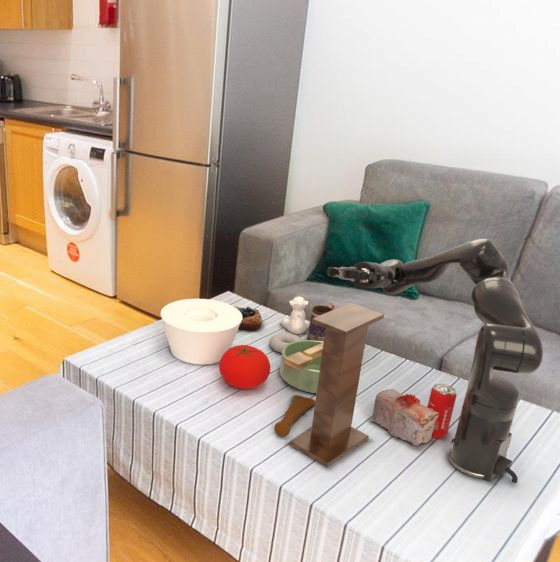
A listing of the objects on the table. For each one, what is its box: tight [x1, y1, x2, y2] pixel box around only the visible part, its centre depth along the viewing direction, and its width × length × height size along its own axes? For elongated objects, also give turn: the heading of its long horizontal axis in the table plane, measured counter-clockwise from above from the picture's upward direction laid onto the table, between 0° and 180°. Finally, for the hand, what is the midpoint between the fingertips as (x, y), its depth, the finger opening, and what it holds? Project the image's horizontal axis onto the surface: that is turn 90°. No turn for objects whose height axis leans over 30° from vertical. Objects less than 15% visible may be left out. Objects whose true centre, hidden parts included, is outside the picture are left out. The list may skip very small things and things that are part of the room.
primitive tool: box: [273, 394, 316, 437], centre depth 144 cm, size 19×6×4 cm, turn 150°
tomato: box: [218, 344, 271, 390], centre depth 158 cm, size 14×13×10 cm
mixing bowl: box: [279, 339, 323, 394], centre depth 161 cm, size 19×19×7 cm
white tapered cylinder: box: [160, 298, 242, 365], centre depth 175 cm, size 24×24×12 cm
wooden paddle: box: [285, 342, 324, 370], centre depth 160 cm, size 22×4×2 cm, turn 127°
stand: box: [289, 302, 385, 468], centre depth 130 cm, size 10×16×32 cm, turn 128°
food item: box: [370, 388, 439, 447], centre depth 137 cm, size 14×8×10 cm, turn 32°
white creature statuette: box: [280, 296, 310, 335], centre depth 189 cm, size 10×9×12 cm
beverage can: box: [427, 383, 457, 440], centre depth 137 cm, size 5×5×12 cm
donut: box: [269, 332, 302, 354], centre depth 178 cm, size 10×4×10 cm
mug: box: [306, 302, 336, 342], centre depth 181 cm, size 10×7×12 cm
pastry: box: [232, 305, 263, 332], centre depth 194 cm, size 11×12×6 cm
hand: (343, 273), depth 159 cm, fingers open, 8 cm apart
